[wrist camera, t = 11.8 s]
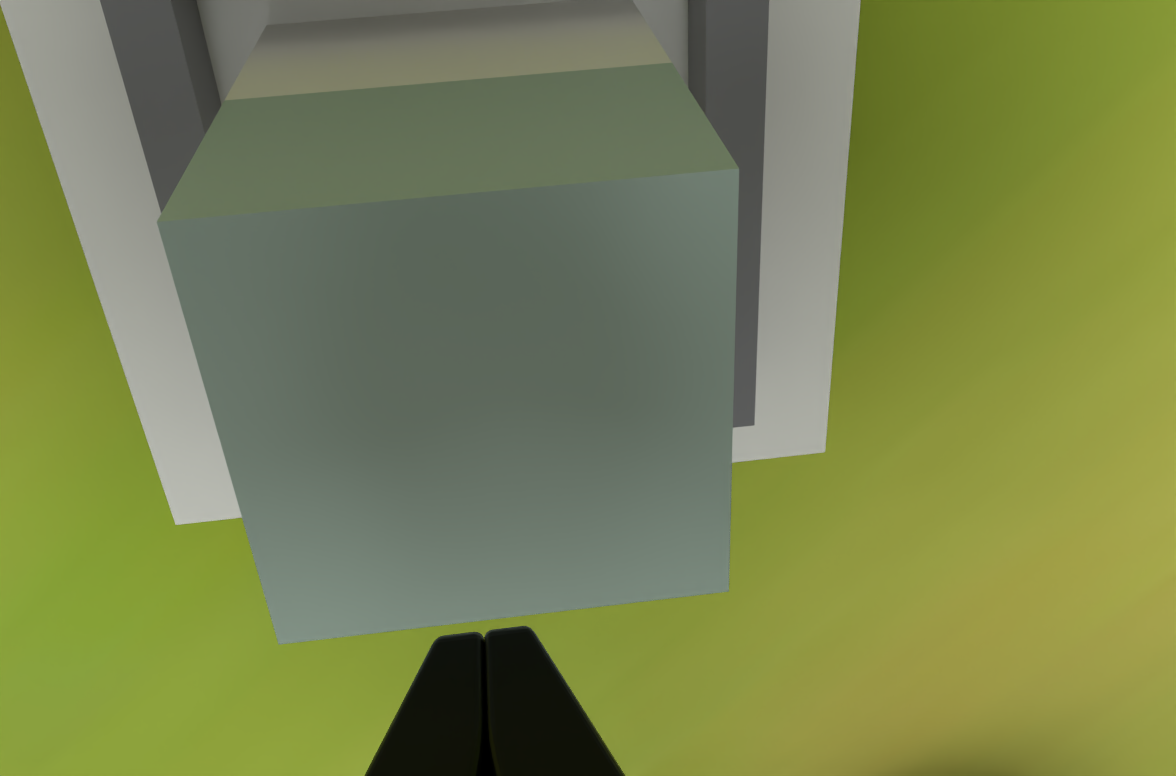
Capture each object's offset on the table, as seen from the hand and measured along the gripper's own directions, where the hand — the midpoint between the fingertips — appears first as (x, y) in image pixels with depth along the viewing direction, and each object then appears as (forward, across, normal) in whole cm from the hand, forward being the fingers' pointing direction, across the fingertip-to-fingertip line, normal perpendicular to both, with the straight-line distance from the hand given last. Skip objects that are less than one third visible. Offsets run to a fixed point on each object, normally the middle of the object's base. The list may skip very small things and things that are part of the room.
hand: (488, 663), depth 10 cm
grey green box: (+12, 0, 0) cm, 12 cm away
